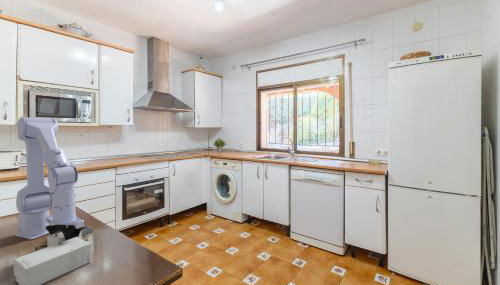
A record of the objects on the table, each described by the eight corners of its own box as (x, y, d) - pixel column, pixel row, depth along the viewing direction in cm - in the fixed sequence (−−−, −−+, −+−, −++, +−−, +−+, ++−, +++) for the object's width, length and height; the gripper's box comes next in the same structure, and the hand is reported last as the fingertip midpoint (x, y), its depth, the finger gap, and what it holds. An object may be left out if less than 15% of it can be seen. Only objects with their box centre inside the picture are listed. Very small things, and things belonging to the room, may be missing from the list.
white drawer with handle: (47, 255, 72) (46, 232, 72) (71, 245, 79) (71, 223, 78) (58, 258, 70) (57, 234, 70) (82, 247, 77) (81, 225, 77)
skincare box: (92, 242, 69) (26, 268, 56) (92, 262, 69) (26, 292, 56) (76, 235, 73) (11, 258, 60) (76, 254, 73) (11, 281, 60)
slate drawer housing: (48, 240, 83) (48, 234, 83) (77, 229, 93) (77, 224, 93) (64, 243, 81) (64, 238, 80) (92, 232, 90) (92, 226, 90)
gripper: (33, 206, 72) (35, 249, 73) (66, 211, 68) (67, 257, 68) (59, 199, 79) (60, 239, 80) (89, 204, 74) (91, 246, 75)
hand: (65, 247), depth 74 cm, fingers closed on white drawer with handle, 5 cm apart
